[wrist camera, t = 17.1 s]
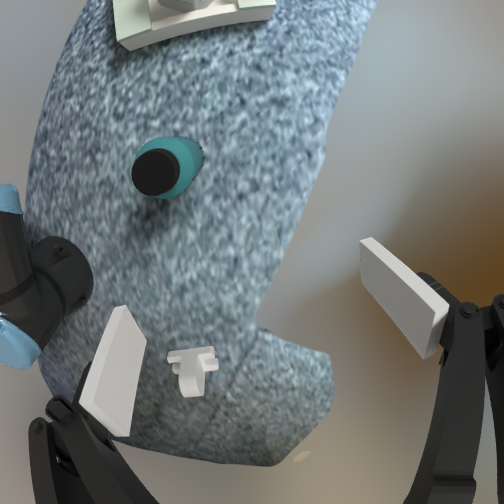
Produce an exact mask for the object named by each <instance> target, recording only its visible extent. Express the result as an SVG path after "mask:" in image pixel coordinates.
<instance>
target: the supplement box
mask: <svg viewBox="0 0 504 504" xmlns="http://www.w3.org/2000/svg"><path fill="white" fill-rule="evenodd" d="M157 1H158V2H159V4H160V5H161V6H164V7H167V8H171V9H174V10H177V11H180V12H183V13H187V12H192V11H196V10H201V9H205V8H207V7H208V6H209V4H210V3H211V2H212V1H213V0H157Z"/></svg>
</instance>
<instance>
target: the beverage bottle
mask: <svg viewBox="0 0 504 504" xmlns="http://www.w3.org/2000/svg"><path fill="white" fill-rule="evenodd" d="M204 156H205V155H204V154H203V150H202V147H201V146H200V145H199V144H198V142H196V141H194V140H192V139H190V138H182V137H177V138H172V137H159V138H155V139H153V140H151V141H149V142H147V143H146V144H145V145H144V146H143V147H142V148H141V149H140V150H139V152H138V153H137V155H136V158H135V161H134V164H133V167H132V173H131V174H132V181H133V183H134V185H135V187H136V188H137V189H138V190H139V191H140V192H141V193H143V194H145V195H149V196H151V197H154V198H158V199H168V198H172V197H175V196H177V195H179V194H181V193H182V192H183V191H184V190H185V189H186V188H187V187H189V184H190V183H191V182H192V180H193V179H194V178H196V177H195V176H197V175H198V174H197V173H198V172H199V171H200V169H202V168H201V167H203V166H202V165H204V163H203V162H204ZM193 181H194V180H193Z"/></svg>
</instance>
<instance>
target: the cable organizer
mask: <svg viewBox="0 0 504 504" xmlns="http://www.w3.org/2000/svg"><path fill="white" fill-rule="evenodd" d="M211 358H214V359H211ZM167 361H168V363H173V366H172V371H173V373H174V374H179V387H180V391H181V393H182V395H183V396H184V397H195V396H203V395H204V384H205V372H206V371H213V370H218V368H219V361H218V358H215V350H214V348H213V347H212V346H208V347H201V348H193V349H186V350H178V351H169V352H168V356H167ZM175 362H178V363H175Z"/></svg>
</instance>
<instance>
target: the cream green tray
mask: <svg viewBox="0 0 504 504" xmlns="http://www.w3.org/2000/svg"><path fill="white" fill-rule="evenodd" d="M275 6H276V2H275V0H213V1H212V2H211V3H210V4H209V6H208V7H207V8H205V9H201V10H196V11H192V12H187V13H183V12H180V11H177V10H174V9H171V8H167V7H164V6H161V5H160V4H159V2H158V1H157V0H113V8H114V19H115V28H116V36H117V41H118V42H119V43H120V44H122V45H123V46H124V47H125V48H127V49H128V50H129V51H133V50H135V49H138V48H141V47H144V46H147V45H150V44H153V43H156V42H159V41H162V40H166V39H169V38H173V37H176V36H180V35H184V34H188V33H192V32H196V31H200V30H205V29H209V28H214V27H220V26H225V25H231V24H238V23H245V22H253V21H262V20H270V18H271V16H272V13H273V11H274V8H275Z"/></svg>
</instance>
